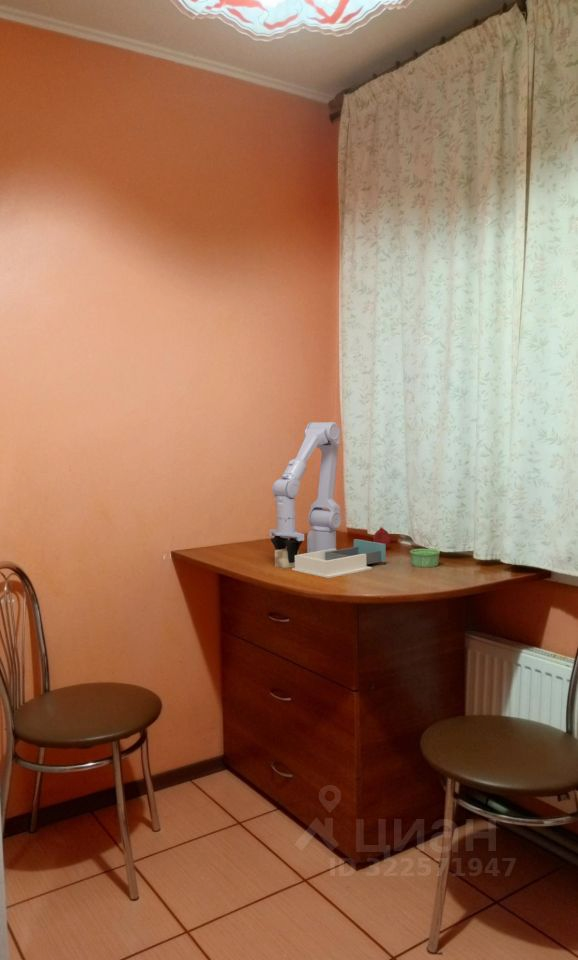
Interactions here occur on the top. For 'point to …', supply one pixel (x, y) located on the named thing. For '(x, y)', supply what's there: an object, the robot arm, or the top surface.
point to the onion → (382, 537)
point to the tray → (361, 551)
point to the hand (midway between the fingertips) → (286, 561)
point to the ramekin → (424, 557)
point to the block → (283, 559)
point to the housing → (329, 564)
